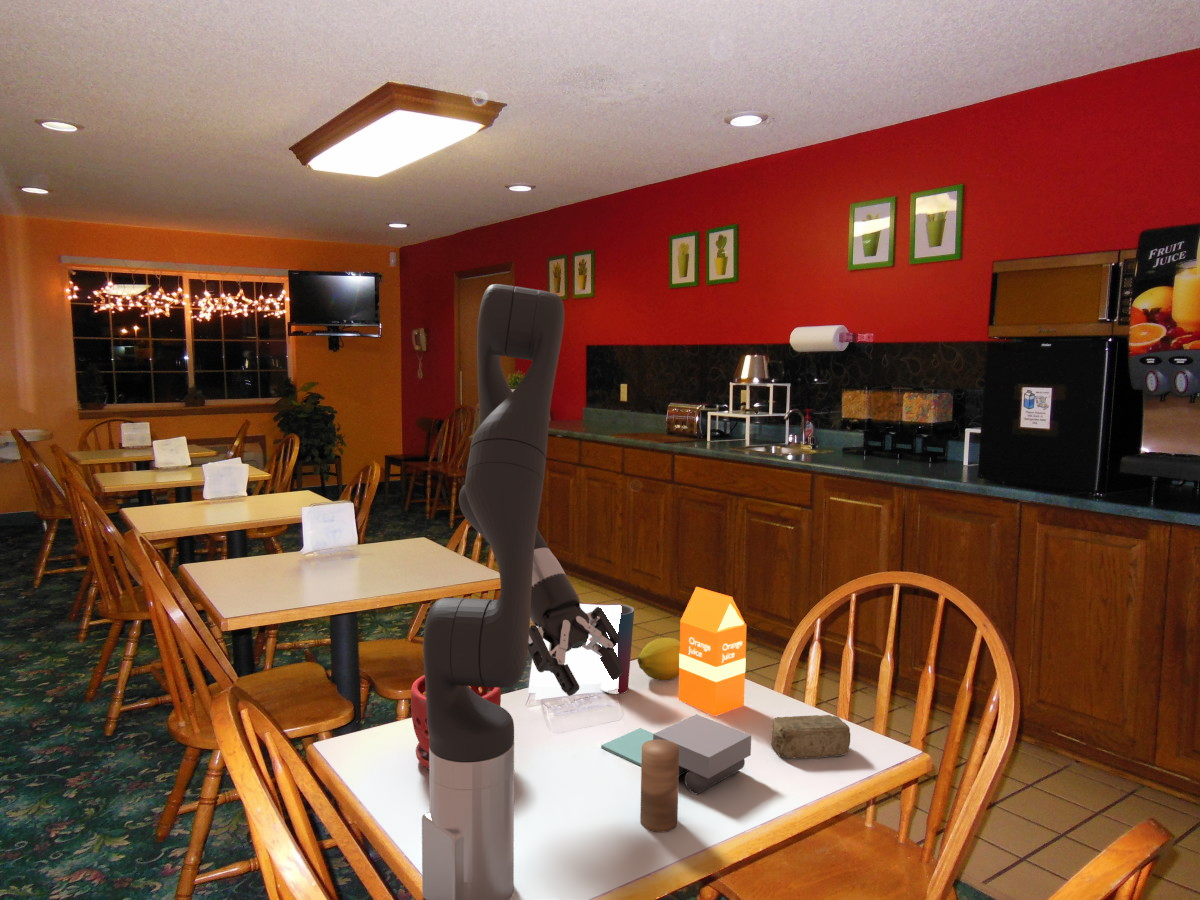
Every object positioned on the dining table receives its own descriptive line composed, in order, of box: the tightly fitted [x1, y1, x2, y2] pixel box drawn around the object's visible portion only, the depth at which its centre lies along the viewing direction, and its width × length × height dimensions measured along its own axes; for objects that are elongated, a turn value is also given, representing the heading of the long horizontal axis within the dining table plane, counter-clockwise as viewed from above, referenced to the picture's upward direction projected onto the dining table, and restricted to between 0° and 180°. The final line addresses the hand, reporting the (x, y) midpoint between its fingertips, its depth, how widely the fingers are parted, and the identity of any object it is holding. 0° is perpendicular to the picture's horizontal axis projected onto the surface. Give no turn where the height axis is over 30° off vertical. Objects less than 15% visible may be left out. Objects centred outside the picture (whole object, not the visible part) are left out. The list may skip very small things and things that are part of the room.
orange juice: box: [678, 586, 747, 717], centre depth 145 cm, size 8×9×20 cm
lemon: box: [637, 637, 680, 682], centre depth 156 cm, size 11×8×8 cm
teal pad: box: [600, 727, 654, 767], centre depth 128 cm, size 9×9×1 cm
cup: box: [606, 603, 635, 695], centre depth 151 cm, size 7×7×15 cm
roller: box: [639, 739, 680, 833], centre depth 107 cm, size 5×5×10 cm
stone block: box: [770, 714, 851, 759], centre depth 128 cm, size 6×12×5 cm, turn 98°
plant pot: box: [410, 674, 502, 769], centre depth 123 cm, size 13×13×12 cm
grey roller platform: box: [653, 713, 752, 794], centre depth 119 cm, size 10×10×6 cm
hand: (597, 684), depth 114 cm, fingers open, 8 cm apart
